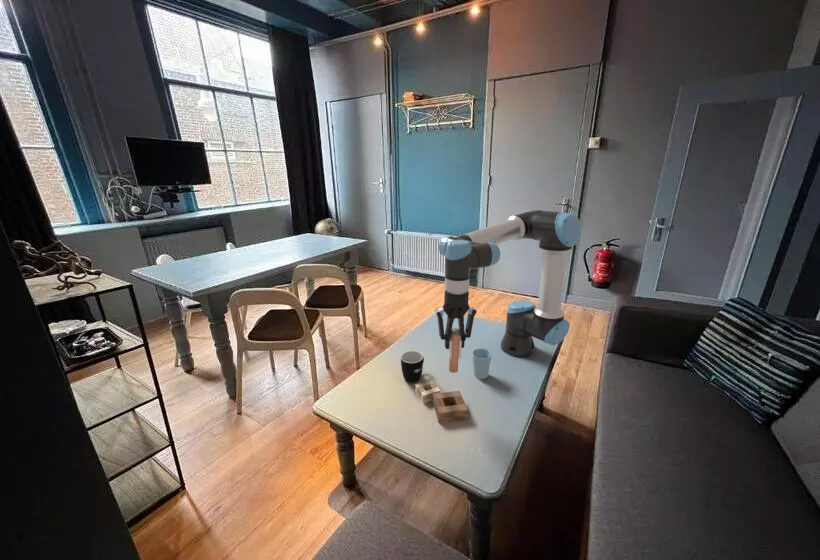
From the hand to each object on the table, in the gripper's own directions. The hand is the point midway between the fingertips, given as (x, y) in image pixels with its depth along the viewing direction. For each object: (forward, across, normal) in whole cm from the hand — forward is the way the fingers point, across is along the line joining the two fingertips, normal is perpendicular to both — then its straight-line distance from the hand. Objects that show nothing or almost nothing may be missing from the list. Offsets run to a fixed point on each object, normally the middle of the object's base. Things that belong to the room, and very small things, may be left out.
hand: (454, 356), depth 109 cm
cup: (+21, -17, -18) cm, 32 cm away
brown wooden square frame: (+22, +1, +1) cm, 22 cm away
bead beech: (+22, +7, -9) cm, 24 cm away
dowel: (+5, 0, 0) cm, 5 cm away
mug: (+22, +10, -21) cm, 32 cm away
